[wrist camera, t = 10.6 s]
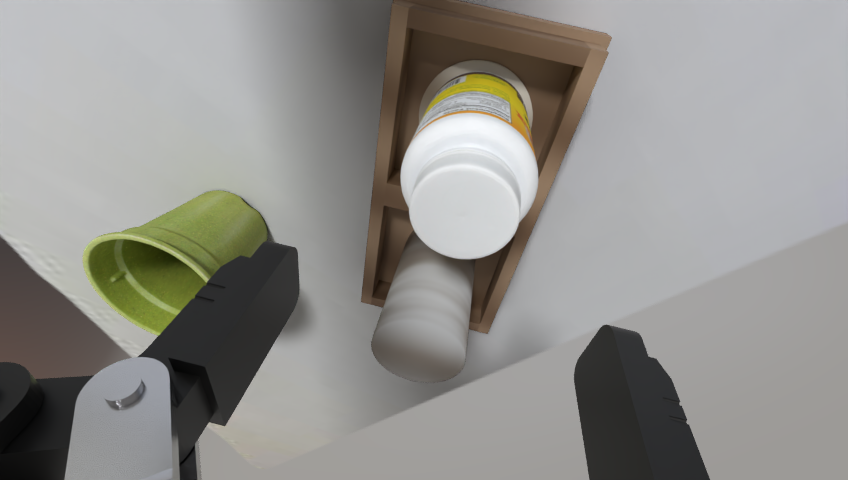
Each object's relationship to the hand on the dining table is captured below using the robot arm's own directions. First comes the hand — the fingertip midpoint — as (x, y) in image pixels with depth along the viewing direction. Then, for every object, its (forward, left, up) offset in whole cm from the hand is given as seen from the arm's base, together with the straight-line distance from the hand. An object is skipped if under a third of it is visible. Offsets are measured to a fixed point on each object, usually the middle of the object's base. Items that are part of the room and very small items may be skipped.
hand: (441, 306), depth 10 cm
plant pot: (+13, -17, -16) cm, 27 cm away
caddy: (+5, 0, -16) cm, 17 cm away
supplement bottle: (0, 0, -15) cm, 15 cm away
